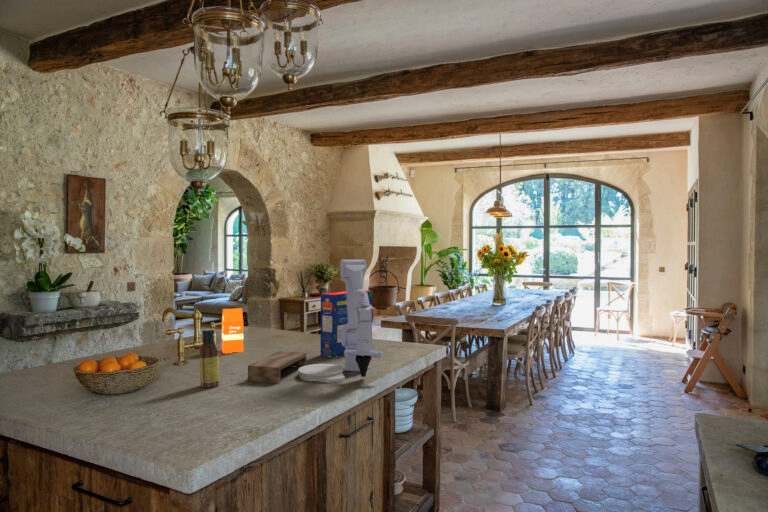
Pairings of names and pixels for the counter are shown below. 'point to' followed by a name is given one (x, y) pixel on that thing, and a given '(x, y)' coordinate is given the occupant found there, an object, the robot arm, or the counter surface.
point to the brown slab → (274, 366)
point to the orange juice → (232, 330)
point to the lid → (322, 373)
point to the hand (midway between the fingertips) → (363, 376)
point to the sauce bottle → (209, 360)
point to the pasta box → (335, 322)
